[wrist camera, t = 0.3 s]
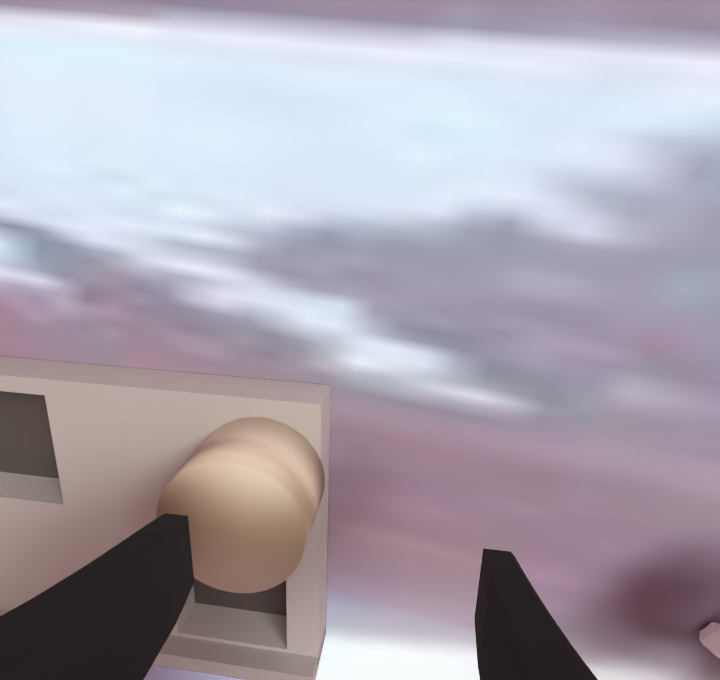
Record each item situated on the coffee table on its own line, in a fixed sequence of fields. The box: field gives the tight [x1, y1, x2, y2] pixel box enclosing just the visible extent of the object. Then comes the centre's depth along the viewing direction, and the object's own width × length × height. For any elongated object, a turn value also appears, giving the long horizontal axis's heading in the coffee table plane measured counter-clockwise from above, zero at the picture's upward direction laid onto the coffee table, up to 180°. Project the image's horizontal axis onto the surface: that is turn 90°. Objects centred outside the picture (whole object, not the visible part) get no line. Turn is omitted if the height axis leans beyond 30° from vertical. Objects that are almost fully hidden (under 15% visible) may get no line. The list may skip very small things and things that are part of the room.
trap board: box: [0, 356, 331, 680], centre depth 22 cm, size 14×24×4 cm, turn 88°
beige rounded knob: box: [156, 417, 325, 593], centre depth 18 cm, size 5×5×4 cm
